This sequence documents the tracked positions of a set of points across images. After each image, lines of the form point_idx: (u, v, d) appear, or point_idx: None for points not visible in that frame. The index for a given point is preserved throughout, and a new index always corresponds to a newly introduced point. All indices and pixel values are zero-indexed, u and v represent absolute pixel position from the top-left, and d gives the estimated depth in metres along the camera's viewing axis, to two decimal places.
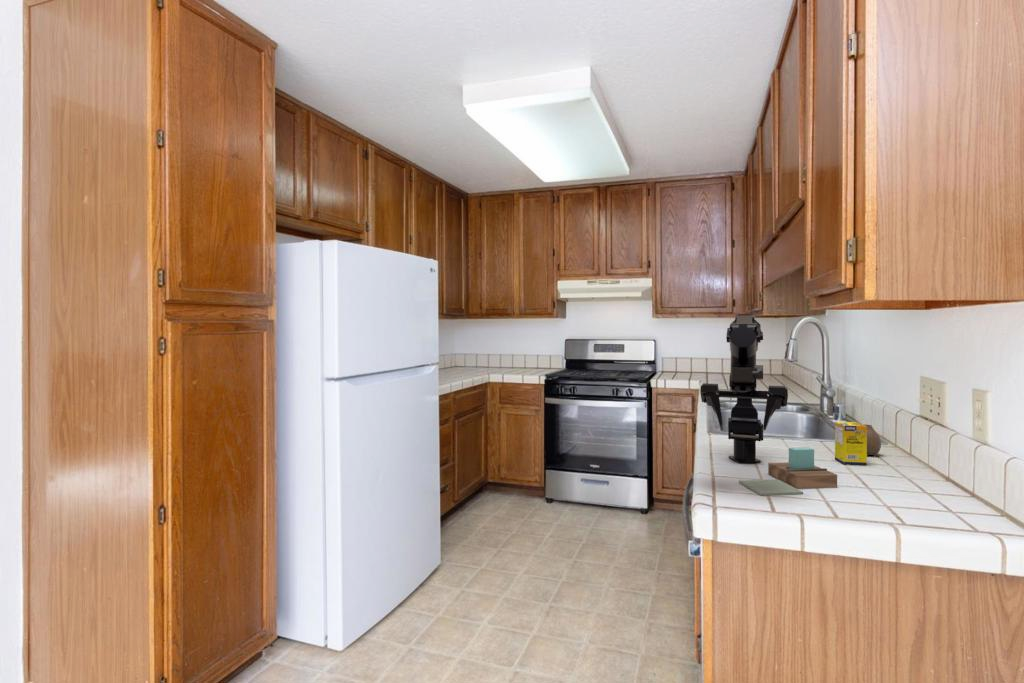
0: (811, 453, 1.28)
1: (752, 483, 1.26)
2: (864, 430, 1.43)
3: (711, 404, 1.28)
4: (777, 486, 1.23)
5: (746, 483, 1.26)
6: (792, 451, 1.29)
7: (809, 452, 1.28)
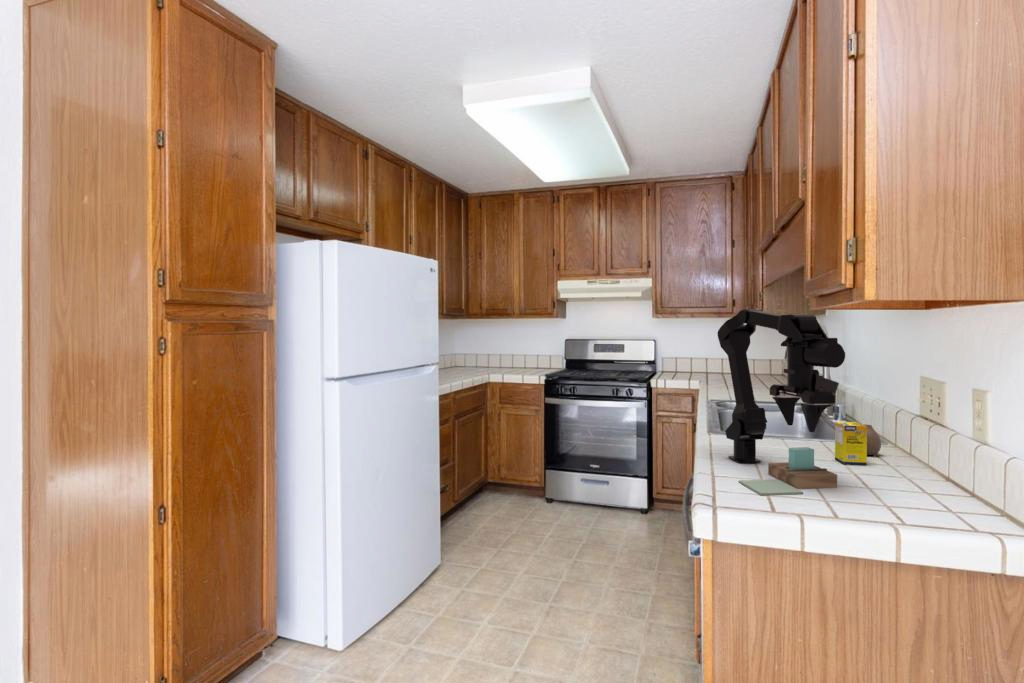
0: (811, 453, 1.28)
1: (752, 483, 1.26)
2: (864, 430, 1.43)
3: (810, 406, 1.22)
4: (777, 486, 1.23)
5: (746, 483, 1.26)
6: (792, 451, 1.29)
7: (809, 452, 1.28)
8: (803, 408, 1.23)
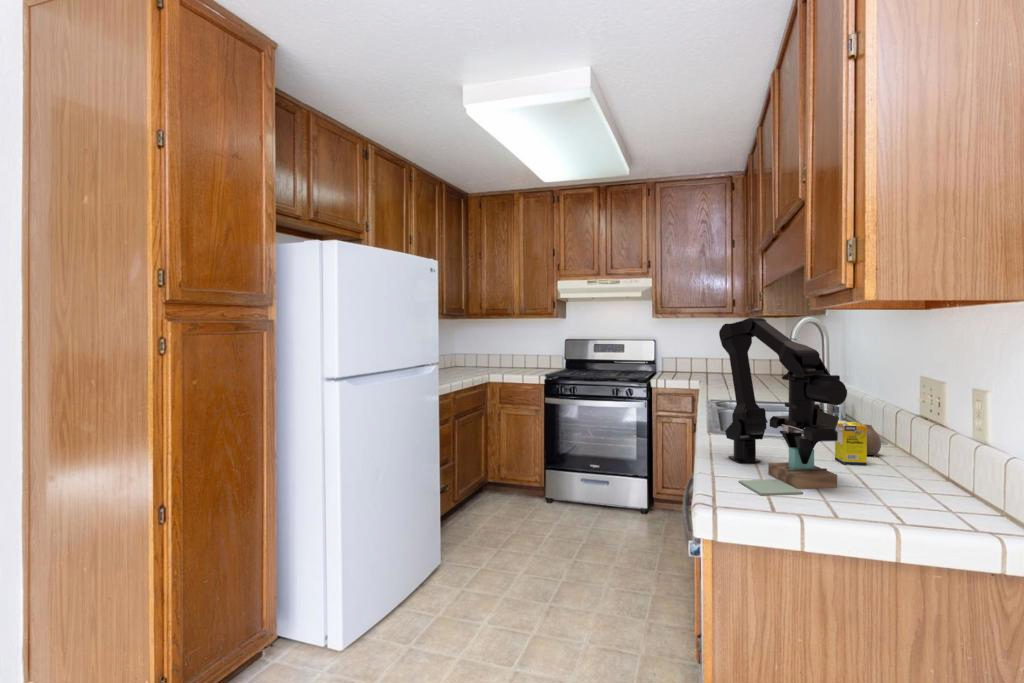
0: (811, 453, 1.28)
1: (752, 483, 1.26)
2: (864, 430, 1.43)
3: None
4: (777, 486, 1.23)
5: (746, 483, 1.26)
6: (792, 451, 1.29)
7: None
8: (797, 441, 1.27)
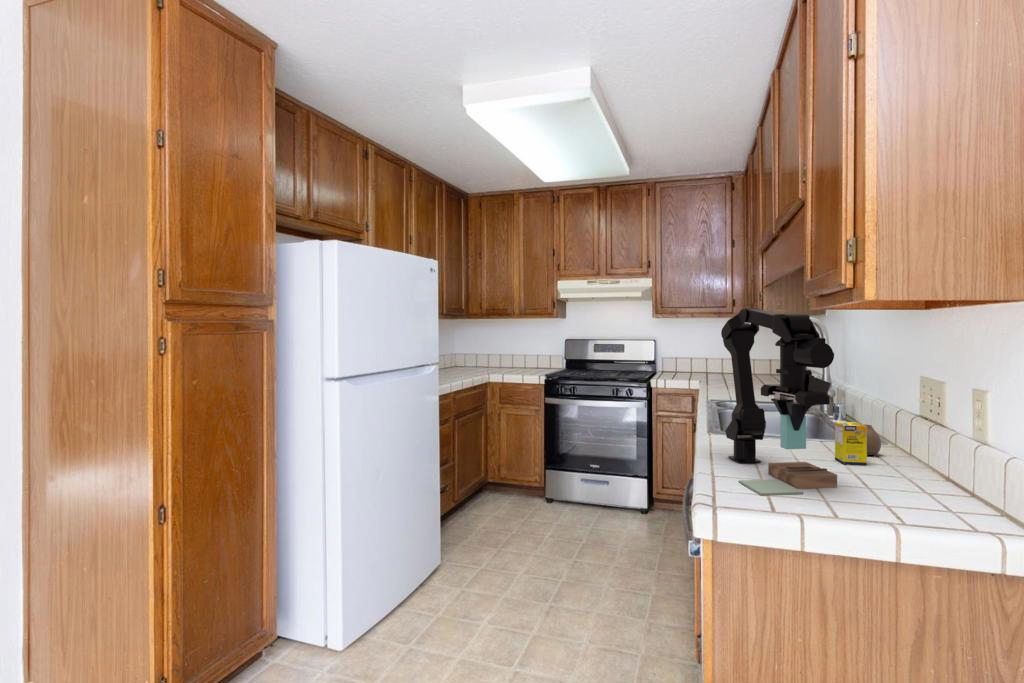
0: (803, 420, 1.26)
1: (752, 483, 1.26)
2: (864, 430, 1.43)
3: None
4: (777, 486, 1.23)
5: (746, 483, 1.26)
6: (784, 418, 1.27)
7: None
8: (789, 407, 1.25)
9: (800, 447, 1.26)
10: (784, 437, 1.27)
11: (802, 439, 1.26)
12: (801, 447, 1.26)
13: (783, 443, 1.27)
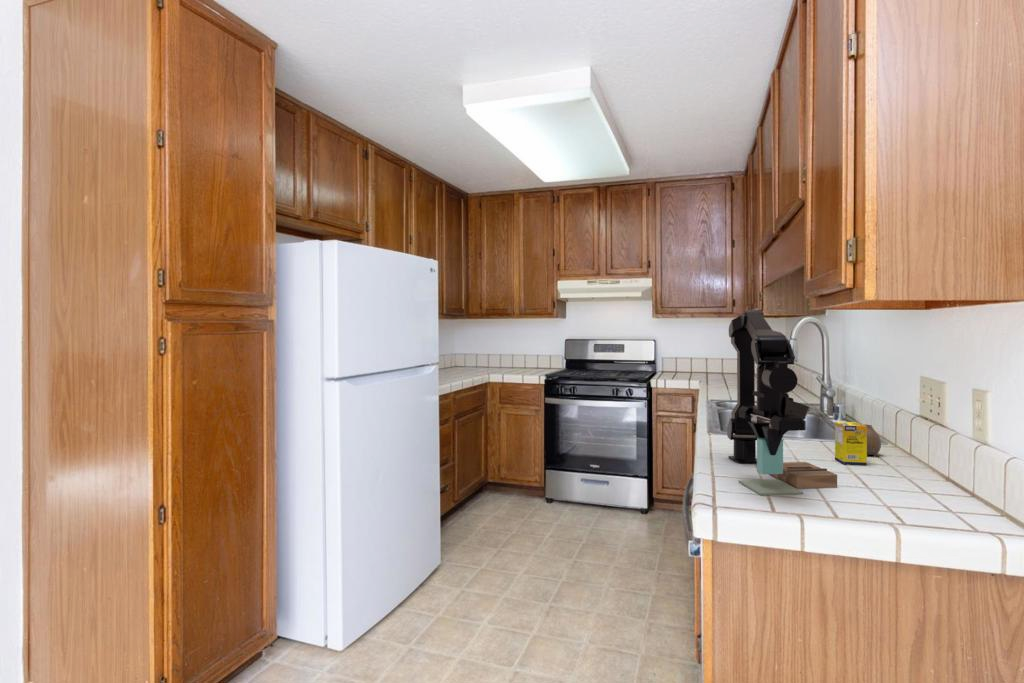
0: (780, 444, 1.22)
1: (752, 483, 1.26)
2: (864, 430, 1.43)
3: None
4: (777, 486, 1.23)
5: (746, 483, 1.26)
6: (760, 442, 1.23)
7: None
8: (764, 431, 1.21)
9: (777, 472, 1.23)
10: (760, 462, 1.23)
11: (779, 464, 1.23)
12: (778, 472, 1.23)
13: (759, 467, 1.24)
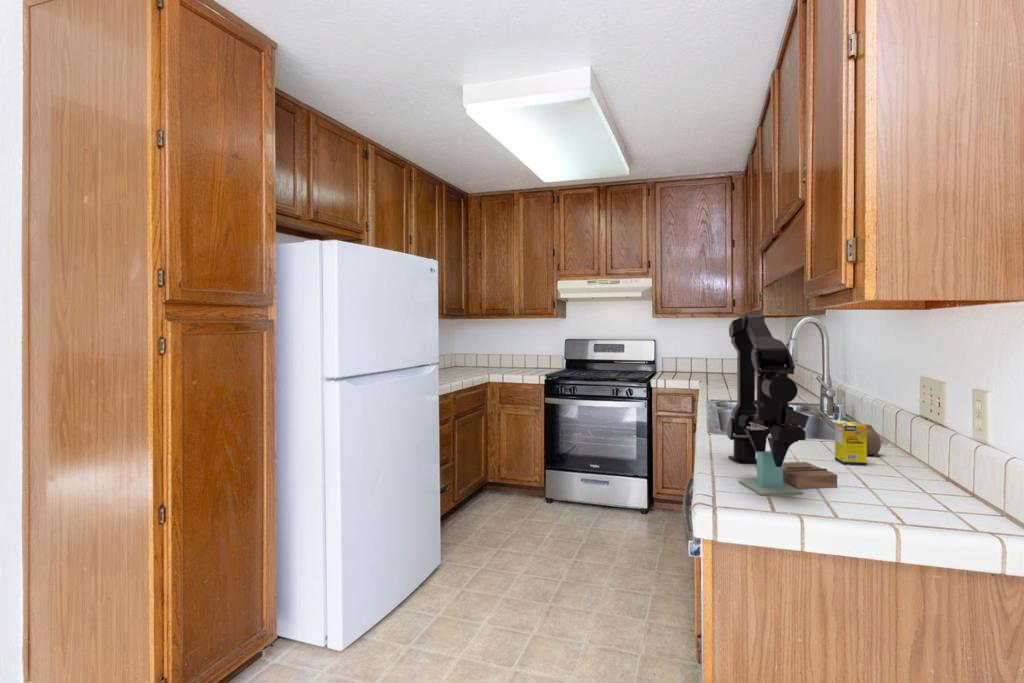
0: None
1: (752, 483, 1.26)
2: (864, 430, 1.43)
3: (776, 441, 1.17)
4: None
5: (746, 483, 1.26)
6: (760, 455, 1.23)
7: None
8: (770, 443, 1.19)
9: (777, 485, 1.23)
10: (760, 475, 1.23)
11: (779, 477, 1.23)
12: (778, 485, 1.23)
13: (759, 480, 1.24)
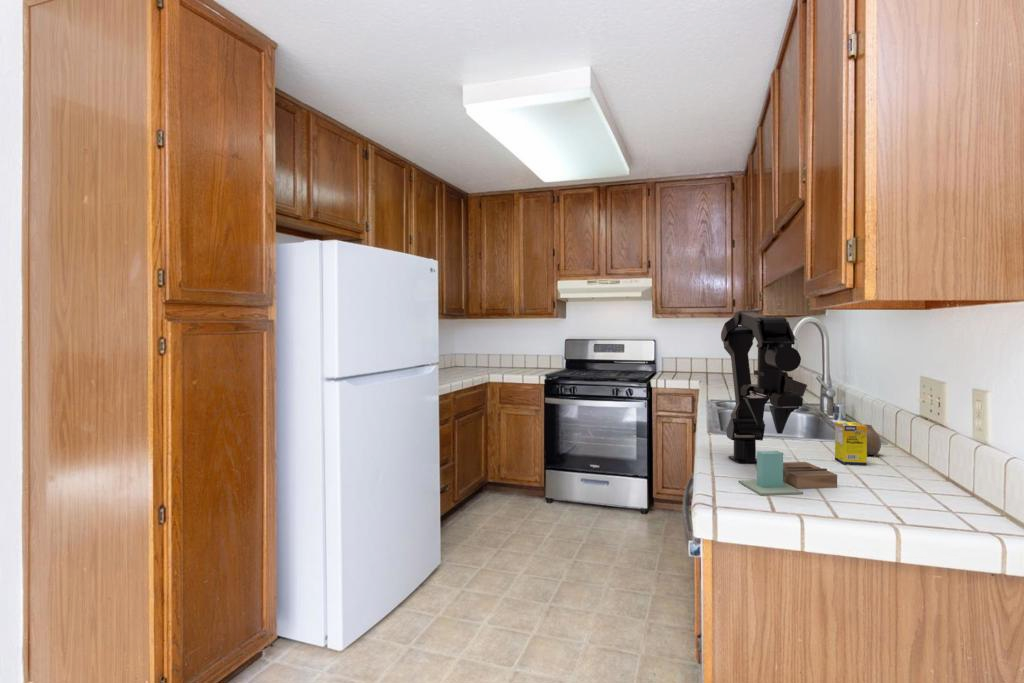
0: (780, 457, 1.23)
1: (752, 483, 1.26)
2: (864, 430, 1.43)
3: None
4: None
5: (746, 483, 1.26)
6: (760, 455, 1.23)
7: (778, 456, 1.22)
8: (771, 410, 1.25)
9: (777, 485, 1.23)
10: (760, 475, 1.23)
11: (779, 477, 1.23)
12: (778, 485, 1.23)
13: (759, 480, 1.24)
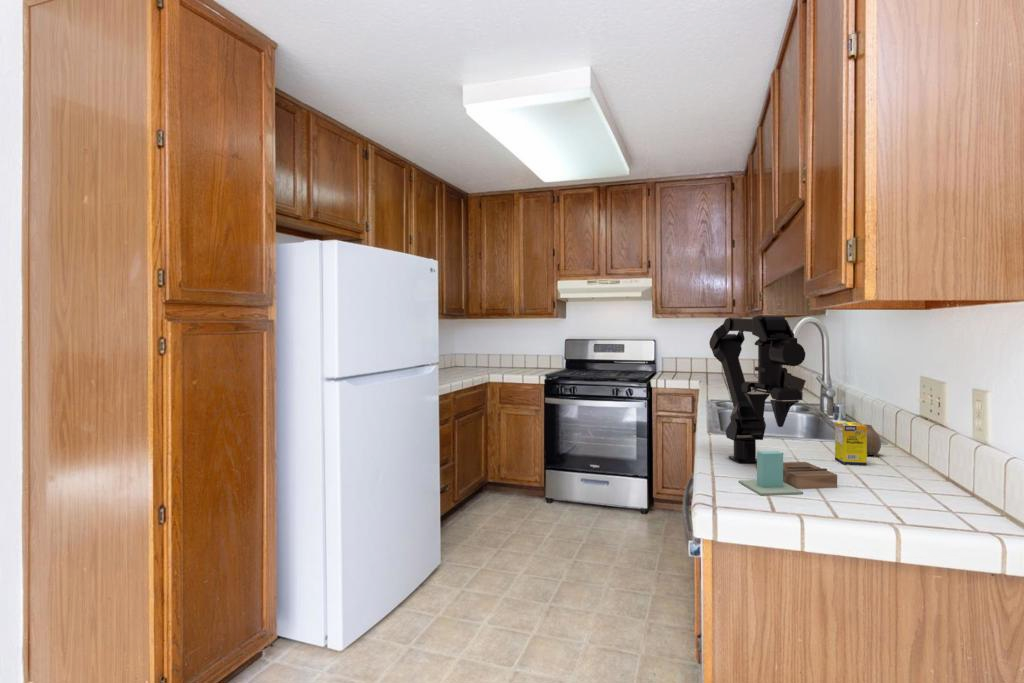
0: (780, 457, 1.23)
1: (752, 483, 1.26)
2: (864, 430, 1.43)
3: (778, 402, 1.29)
4: None
5: (746, 483, 1.26)
6: (760, 455, 1.23)
7: (778, 456, 1.22)
8: (772, 404, 1.30)
9: (777, 485, 1.23)
10: (760, 475, 1.23)
11: (779, 477, 1.23)
12: (778, 485, 1.23)
13: (759, 480, 1.24)
